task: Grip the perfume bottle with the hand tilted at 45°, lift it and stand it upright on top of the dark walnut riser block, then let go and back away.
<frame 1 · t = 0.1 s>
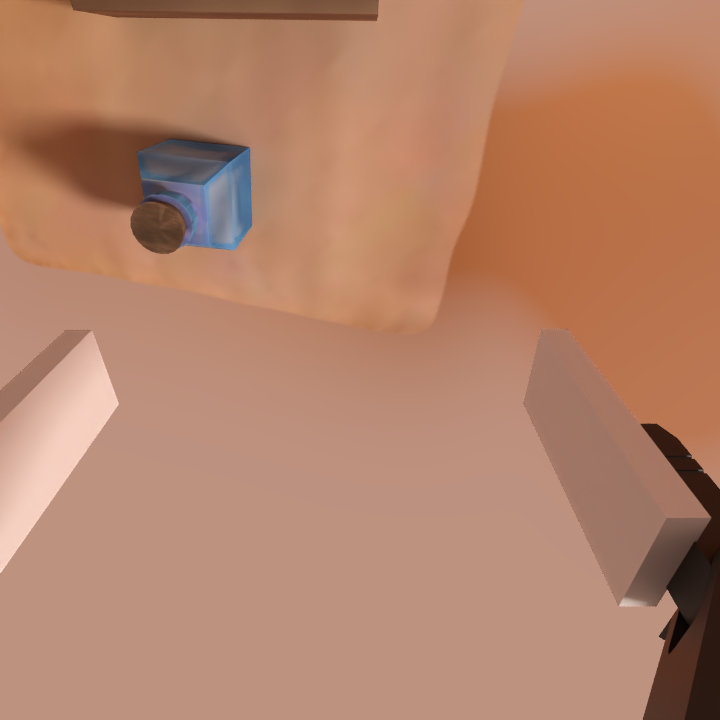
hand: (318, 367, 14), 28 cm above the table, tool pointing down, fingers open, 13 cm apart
perfume bottle: (213, 183, 38), on the table
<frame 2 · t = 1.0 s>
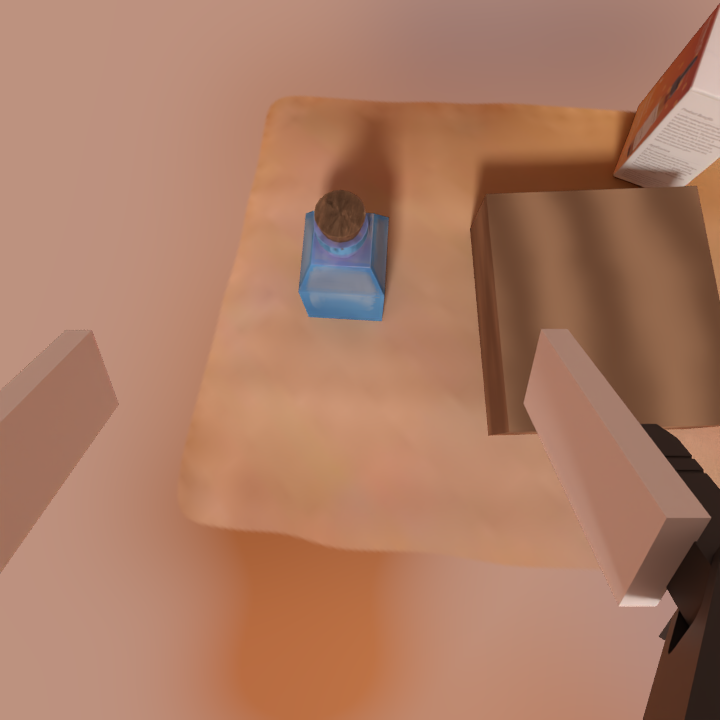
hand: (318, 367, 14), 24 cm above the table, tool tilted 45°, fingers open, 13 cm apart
small box: (652, 153, 42), on the table
perfume bottle: (347, 285, 40), on the table
walnut riser block: (572, 325, 39), on the table
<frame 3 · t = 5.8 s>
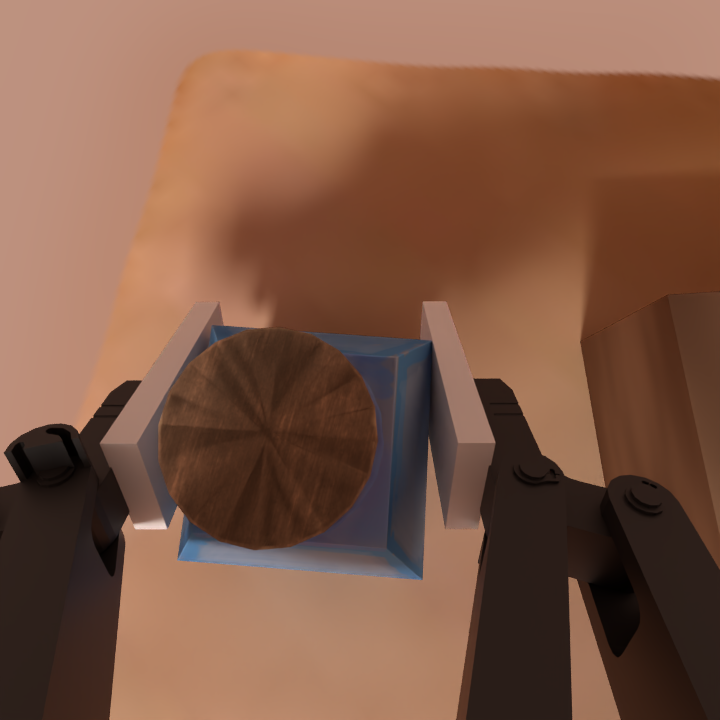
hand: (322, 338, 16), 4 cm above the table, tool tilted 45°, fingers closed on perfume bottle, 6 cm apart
perfume bottle: (328, 449, 19), on the table, touching gripper
when the fingers open (11 cm above the table, at t = 10.5 s): perfume bottle drops 2 cm, resting on walnut riser block.
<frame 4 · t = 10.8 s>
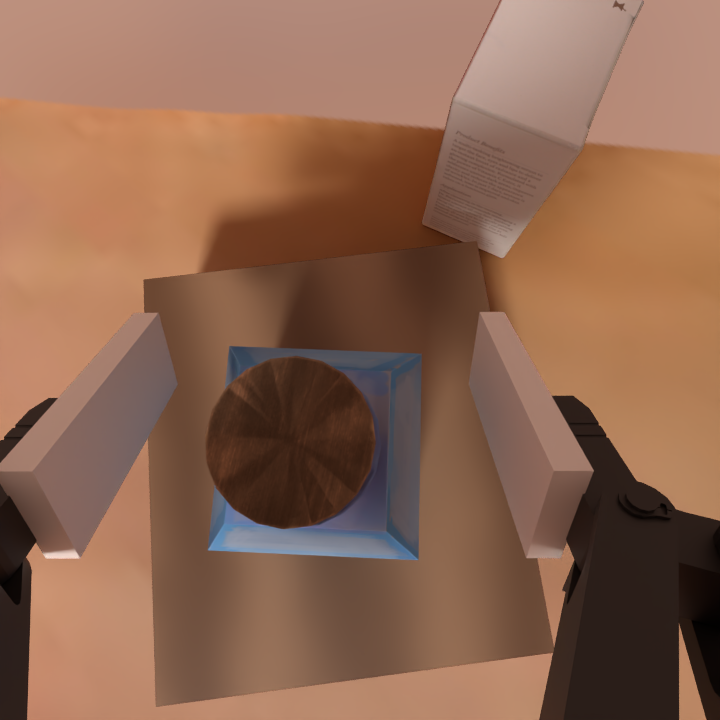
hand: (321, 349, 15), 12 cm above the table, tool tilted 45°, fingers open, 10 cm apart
small box: (483, 192, 29), on the table
perfume bottle: (332, 451, 21), point 5 cm above the table, touching walnut riser block
walnut riser block: (338, 452, 26), on the table, touching perfume bottle
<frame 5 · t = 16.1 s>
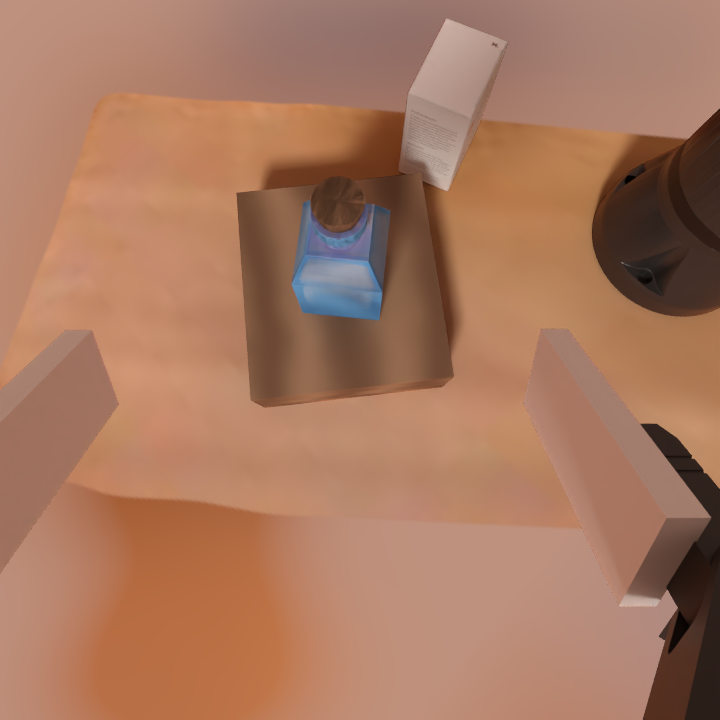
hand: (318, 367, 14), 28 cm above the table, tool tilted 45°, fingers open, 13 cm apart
small box: (437, 152, 47), on the table
perfume bottle: (345, 281, 38), point 5 cm above the table, touching walnut riser block
walnut riser block: (343, 304, 44), on the table, touching perfume bottle
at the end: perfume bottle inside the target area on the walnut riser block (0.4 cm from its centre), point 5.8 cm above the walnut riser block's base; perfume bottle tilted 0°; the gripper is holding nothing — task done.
